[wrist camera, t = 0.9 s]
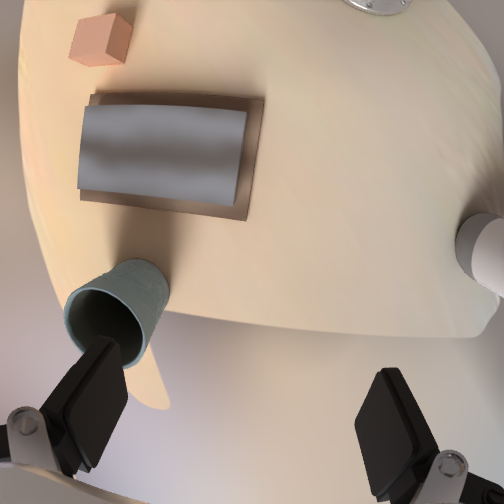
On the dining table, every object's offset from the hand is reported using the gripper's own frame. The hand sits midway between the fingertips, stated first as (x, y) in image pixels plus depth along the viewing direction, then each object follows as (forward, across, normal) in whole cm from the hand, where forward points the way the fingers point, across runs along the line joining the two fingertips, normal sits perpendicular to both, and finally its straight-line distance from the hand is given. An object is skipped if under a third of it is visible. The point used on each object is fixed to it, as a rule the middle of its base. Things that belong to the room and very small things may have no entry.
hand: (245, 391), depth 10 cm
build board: (+28, +12, -7) cm, 31 cm away
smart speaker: (+28, -31, -2) cm, 42 cm away
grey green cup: (+28, +15, +11) cm, 33 cm away
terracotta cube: (+28, +22, -22) cm, 41 cm away
